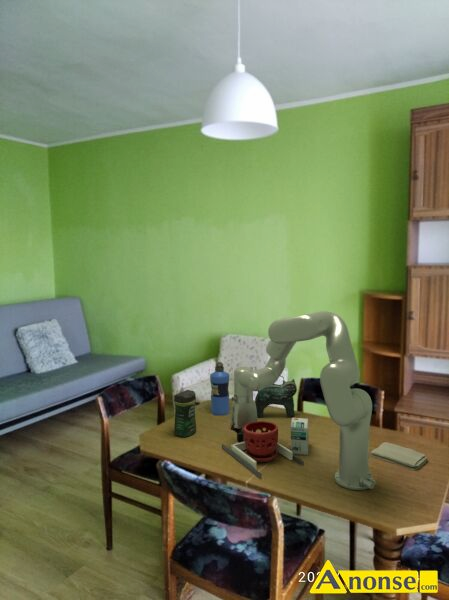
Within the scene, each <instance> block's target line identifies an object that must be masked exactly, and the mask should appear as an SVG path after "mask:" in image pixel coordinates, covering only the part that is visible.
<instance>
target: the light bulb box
mask: <svg viewBox="0 0 449 600" xmlns="http://www.w3.org/2000/svg"><path fill="white" fill-rule="evenodd" d="M290 450H291V451H292V452H293V455H305V456H308V455H309V418H303V417H300V418H299V417H294V418H291V423H290Z"/></svg>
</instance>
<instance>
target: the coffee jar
mask: <svg viewBox="0 0 449 600" xmlns="http://www.w3.org/2000/svg"><path fill="white" fill-rule="evenodd" d="M196 397H197V396H196V391H194V390H190V389H186V390H183V391H181V392H178V393H175V394H174V397H173V404H174V410H175V411H174V414H175V415H174V427H173V428H174V432H173V433H174V435H176V436H178V437H180V438H181V437H183V438H184V437H185V438H187V437H189V436H191V435H194V433H196V432H197V422H196V420H197V419H196V400H197V398H196Z"/></svg>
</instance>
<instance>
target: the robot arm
mask: <svg viewBox="0 0 449 600" xmlns="http://www.w3.org/2000/svg"><path fill="white" fill-rule="evenodd" d="M349 333H350V332H349V329H348V327H347V324H346V322H345V320H344V318H342V317H341V316H339V314H336V313H334V312H332V311H327V310H326V311H324V310H320V311H315V312H312V313H307V314H304V315H302V314H301V315H298V316H293V317H291V316H290V317H283V318H280V319H275V320H274V321H273V322H271V323H270V324H269V327H268V331H267V335H268V338H269V342H268V343H267V344H266V347H265V352H266V353H267V355H268V356H269V359H268V361H267V362H266V365H265V366H264V367H263V368H259V369H256V370H253V369H252V368H251V367H248V366H238V367H236V368H235V369H234V372H233V376H234V377H233V384H234V385H233V386H234V387H233V388H234V389H233V393H234V394H233V397H231V401H233V402H232V406H231V412H230V414H231V416H230V418H231V419H230V425H229V427H228V428H229V430H230V431H233V432H234V433H236V441H237V443H240V442H243V435H242V434H241V433H242V428H244V426H245V425H246V424H248V423H251V422H257V421H258V418H257V409H256V404H255V399H254V392H258V391H259V390H262V389H264V388H266V387H269V386H271V385H273V384H276V383H277V381H278V380H279V379H280V377H281V376H282V374H283V372H284V370H285V369H286V363H287V360H286V359H287V357H288V356H289V354H290V353H291V351H292V349H293V348H294V346H295V345H296V344H297V343H298V342H304V341H305V342H306V341H311V340H314V339H317V338H319V337H325V349H326V352H327V356H328V360H329V362H328V363H327V364H325V365H324V366H323V367H322V369H321V371H320V375H319V383H320V386H321V390H322V395H323V398H324V401H325V405H326V409H327V412H328V414H329V417H330V418H331V420H332V422H333V423H335V424H336V425H338V426H339V453H338V454H339V455H338V456H339V457H338V458H339V461H338V464H339V467H338V468H339V469H338V471H336V472H335V473H334V477H333V478H334V481H335V483H336V484H338V485H339V486H340V487H342V488H345V489H346V490H347V489H348V490H354V491H364V490H368V489H370V490H373V489H374V488H375V485H376V484H377V480H376V479H374V478H373V477H372V471H370V470H369V468H370V467H369V464H370V463H369V462H370V461H369V460H370V459H369V457H370V431H371V430H370V427H371V426H370V425H371V418H372V411H373V401H372V399H371V396H370V395H369V393H368V392H367V391H365V390H363V389H361V388H351V386H353V385H355V384H356V383H358V381H359V380H360V376H361V373H360V372H361V371H360V369H359V364H358V362H357V358H356V354H355V352H354V347H353V345H352V340H351V337H350V334H349ZM280 375H281V376H280ZM251 432H253V430H251Z"/></svg>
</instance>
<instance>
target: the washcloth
mask: <svg viewBox="0 0 449 600" xmlns="http://www.w3.org/2000/svg"><path fill="white" fill-rule="evenodd" d="M425 455H426V454H425V453H421V452H418V451H416V450H415V449H413V448H407V447H404V446H402V445H398V444H394V443H391V442H386V441H385V442H382V443H381V444H380V445H379V446H378V447H376V448H375V449H372V451H370V452H369V457H374V458H376V459H378V460H381V461H385V462H387V463H390V464H394V465H397V466H399V467H403V468H406V469H407V470H412V471H416V470H418V469H420V468H421V467H423V465H425V464H426V463H427V462H428V460H429V459H428V458H429V457H427V456H425ZM426 461H427V462H426Z"/></svg>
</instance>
